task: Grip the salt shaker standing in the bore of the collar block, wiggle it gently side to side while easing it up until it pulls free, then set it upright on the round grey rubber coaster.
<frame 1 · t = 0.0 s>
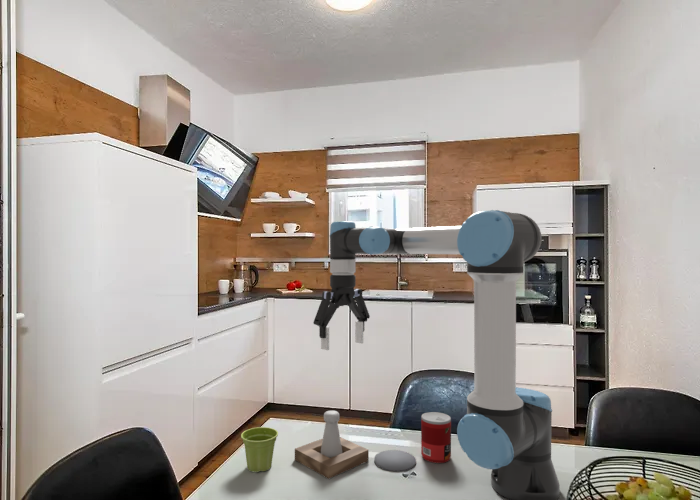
hand: (342, 346, 135), 28 cm above the table, tool pointing down, fingers open, 13 cm apart
coaster: (395, 461, 122), on the table
canned food: (436, 457, 124), on the table
plant pot: (259, 467, 118), on the table
collar block: (331, 460, 122), on the table
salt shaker: (331, 461, 122), resting in collar block
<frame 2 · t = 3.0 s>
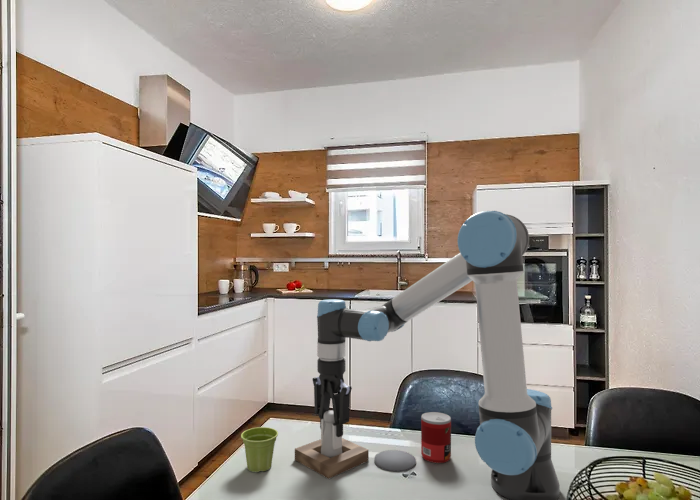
hand: (331, 444, 122), 4 cm above the table, tool pointing down, fingers closed on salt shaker, 4 cm apart
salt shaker: (331, 461, 122), resting in collar block, touching gripper
everything else where it was.
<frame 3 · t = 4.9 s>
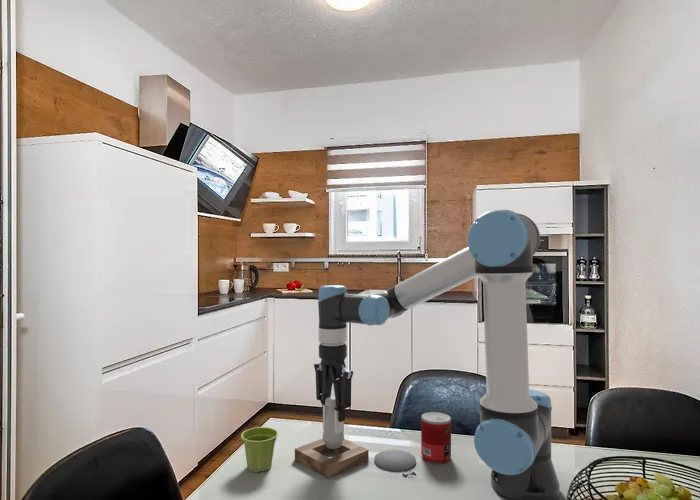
hand: (333, 430, 122), 8 cm above the table, tool pointing down, fingers closed on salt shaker, 4 cm apart
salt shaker: (333, 446, 122), point 4 cm above the table, touching gripper
everything else where it was.
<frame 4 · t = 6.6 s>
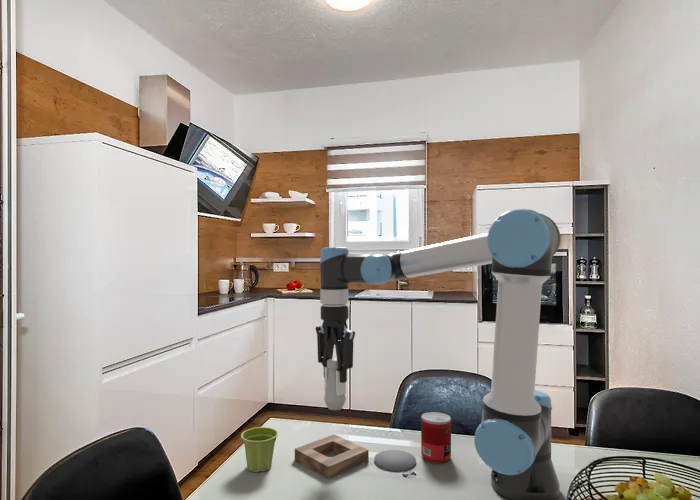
hand: (335, 392, 122), 18 cm above the table, tool pointing down, fingers closed on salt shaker, 4 cm apart
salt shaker: (335, 408, 122), point 14 cm above the table, touching gripper
everything else where it was.
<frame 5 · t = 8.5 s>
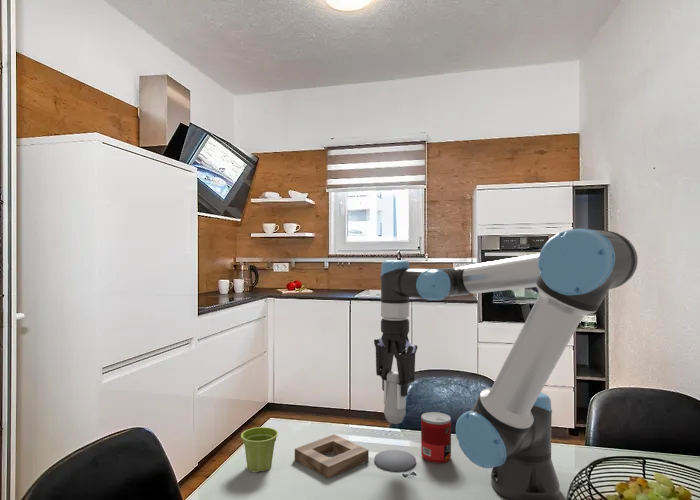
hand: (394, 405, 122), 15 cm above the table, tool pointing down, fingers closed on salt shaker, 4 cm apart
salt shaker: (394, 421, 122), point 11 cm above the table, touching gripper
everything else where it was.
when the fingers open (6 cm above the table, at t = 10.2 s): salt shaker drops 1 cm, resting on coaster.
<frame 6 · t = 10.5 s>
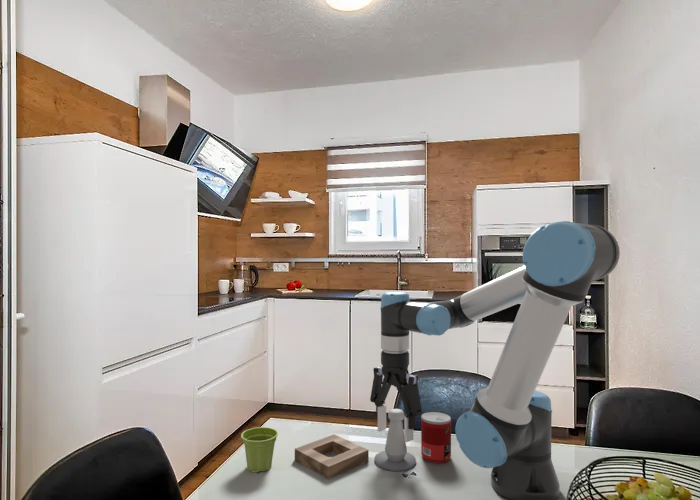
hand: (395, 435, 122), 7 cm above the table, tool pointing down, fingers open, 9 cm apart
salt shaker: (395, 459, 122), resting on coaster
everything else where it was.
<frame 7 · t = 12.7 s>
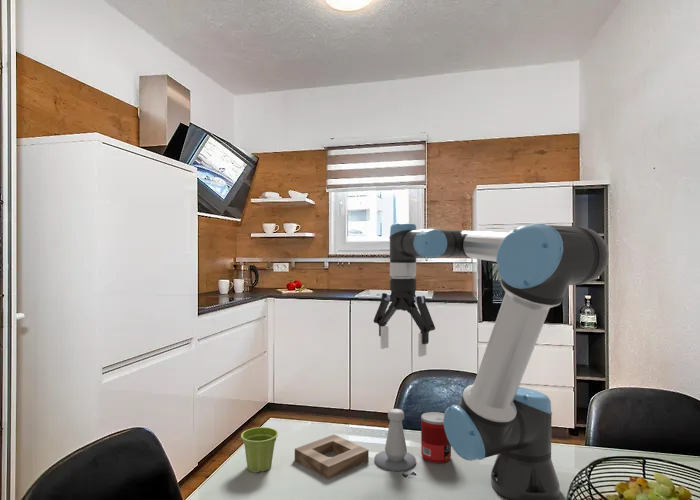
hand: (402, 351, 131), 27 cm above the table, tool pointing down, fingers open, 13 cm apart
nothing on the table moved.
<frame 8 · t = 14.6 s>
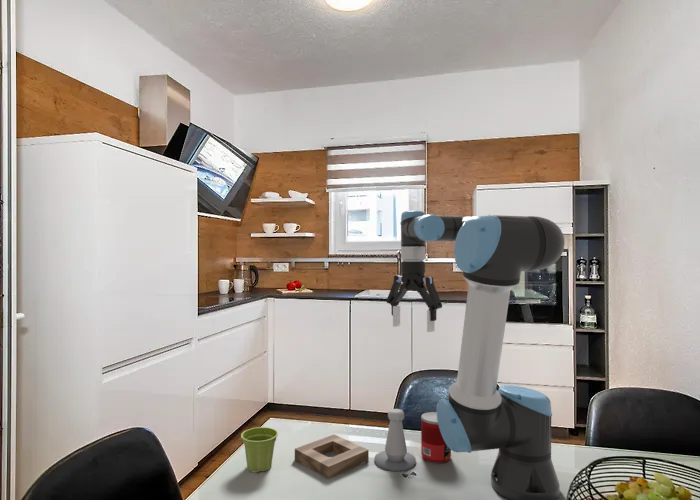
hand: (413, 328, 143), 32 cm above the table, tool pointing down, fingers open, 13 cm apart
nothing on the table moved.
at the end: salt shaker 0.3 cm off-centre on the coaster, point 0.4 cm above the coaster's base; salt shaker tilted 0°; the gripper is holding nothing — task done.
